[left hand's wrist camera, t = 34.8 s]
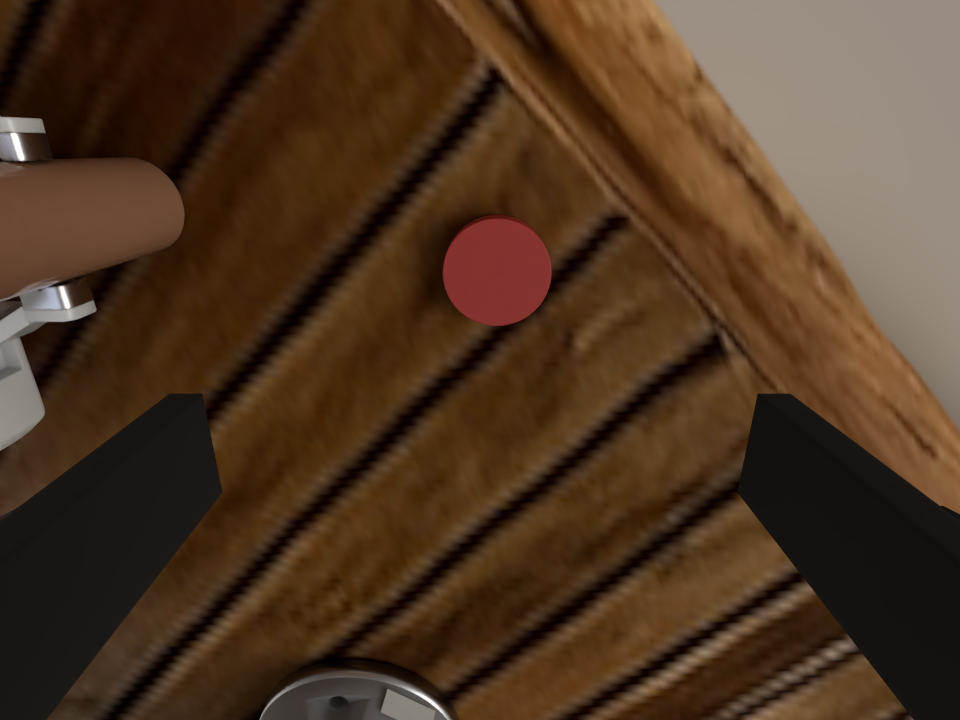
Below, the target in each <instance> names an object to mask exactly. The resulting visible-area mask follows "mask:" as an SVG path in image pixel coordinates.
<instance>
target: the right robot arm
mask: <svg viewBox="0 0 960 720" xmlns="http://www.w3.org/2000/svg"><path fill="white" fill-rule="evenodd" d="M37 160H53V156H52V152H51V149H50V145H49V141H48V138H47V134H46V132H45V128H44V125H43V121H42V119H36V118H17V117H1V116H0V161H37ZM20 299H21V301H7V300H5V301H2V302H0V451H1V450H2V449H4V448H6V447H7V446H9V445H11V444H12V443H14V442H16V441H17V440H19V439H20V438H21V437H23V436H24V435H25V434H27V433H28V432H29V431H30V430H31V429H33V428H34V427H35V426H36V425H37V424H38V423H39V421H40V420H41V419H42V418H43V417H44V414H45V409H44V405H43V402H42V399H41V396H40V393H39V391H38V388H37V385H36V382H35V379H34V376H33V374H32V371H31V368H30V365H29V362H28V359H27V357H26V354H25V351H24V348H23V345H22V342H21V339H20V337H21V336H23V335H26V334H28V333H31V332H33V331H35V330H36V329H38V328H39V327H41V326H42V325H44V324H45V323H46V322H66V321H72V320H76V319H80V318H82V317H84V316H87V315H89V314H91V313H94V312H96V306H95V303H94V299H93V296H92V293H91V290H90V287H89V284H88V281H87V277H83V276H80V277H77V278H74V279H70V280H67V281H64V282H61V283H58V284H55V285H52V286H49V287H45V288H42V289H39V290H36V291H33V292H30V293H27V294H24V295H20Z"/></svg>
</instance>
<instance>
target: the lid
mask: <svg viewBox="0 0 960 720" xmlns="http://www.w3.org/2000/svg"><path fill="white" fill-rule="evenodd" d="M550 281H551V262H550V258H549V254H548V252H547V250H546V247H545V245H544V243H543V242H542V240H541V238H540V237H539V235H538V234H537V233H536V232H535V231H534V230H533V229H532V228H531V227H530V226H529V225H528V224H526V223H525V222H523V221H521V220H519V219H517V218H514V217H511V216H507V215H488V216H483V217H480V218H477V219H475V220H473V221H471V222H469V223H468V224H467V225H465V226H464V227H463V228H462V229H461V230H460V231H459V232H458V233H457V234H456V235H455V237H454V238H453V240H452V241H451V243H450V246H449V248H448V250H447V253H446V256H445V259H444V264H443V282H444V286H445V289H446V292H447V295H448V296H449V298H450V300H451V302H452V303H453V304H454V306H455V307H456V308H457V309H458V310H459V311H460V312H461V313H462V314H464V315H465V316H466V317H468V318H470V319H471V320H473V321H476V322H478V323H481V324H485V325H493V326H501V325H508V324H512V323H515V322H518V321H520V320H522V319H524V318H525V317H527V316H529V315H530V314H531V313H532V312H534V311H535V310H536V309H537V307H538V306H539V305H540V304H541V302H542V301H543V300H544V298H545V296H546V294H547V291H548V289H549V285H550Z"/></svg>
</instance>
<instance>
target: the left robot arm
mask: <svg viewBox="0 0 960 720" xmlns="http://www.w3.org/2000/svg"><path fill="white" fill-rule="evenodd" d="M221 494H222V488H221V483H220V478H219V473H218V468H217V464H216V459H215V454H214V449H213V444H212V439H211V434H210V429H209V425H208V420H207V415H206V410H205V405H204V400H203V395H202V394H169V395H167V396H166V397H165V398H163V399H162V400H161V401H159V402H158V403H157V404H155V405H154V406H153V407H151V408H150V409H149V410H147V411H146V412H145V413H143V414H142V415H141V416H139V417H138V418H137V419H135V420H134V421H133V422H131V423H130V424H129V425H127V426H126V427H125V428H123V429H122V430H121V431H119V432H118V433H117V434H115V435H114V436H113V437H111V438H110V439H109V440H107V441H106V442H105V443H103V444H102V445H101V446H99V447H98V448H97V449H95V450H94V451H93V452H92V453H90V454H89V455H88V456H86V457H85V458H84V459H82V460H81V461H80V462H78V463H77V464H76V465H74V466H73V467H72V468H70V469H69V470H68V471H66V472H65V473H64V474H62V475H61V476H60V477H58V478H57V479H56V480H54V481H53V482H52V483H50V484H49V485H48V486H46V487H45V488H44V489H42V490H41V491H40V492H38V493H37V494H36V495H34V496H33V497H32V498H30V499H29V500H28V501H26V502H25V503H24V504H22V505H21V506H20V507H18V508H16V509H14V510H12V511H11V512H9V513H7V514H5V515H3V516H1V517H0V720H46V719H47V718H48V716H49V715H50V714H51V713H52V711H53V710H54V709H55V707H56V706H57V705H58V704H59V702H60V701H61V700H62V698H63V697H64V696H65V695H66V693H67V692H68V691H69V689H70V688H71V687H72V686H73V684H74V683H75V682H76V680H77V679H78V678H79V677H80V675H81V674H82V673H83V671H84V670H85V669H86V668H87V666H88V665H89V664H90V662H91V661H92V660H93V659H94V657H95V656H96V655H97V653H98V652H99V651H100V650H101V648H102V647H103V646H104V644H105V643H106V642H107V640H108V639H109V638H110V637H111V635H112V634H113V633H114V631H115V630H116V629H117V628H118V626H119V625H120V624H121V622H122V621H123V620H124V619H125V617H126V616H127V615H128V613H129V612H130V611H131V610H132V608H133V607H134V606H135V604H136V603H137V602H138V601H139V599H140V598H141V597H142V595H143V594H144V593H145V592H146V590H147V589H148V588H149V586H150V585H151V584H152V583H153V581H154V580H155V579H156V577H157V576H158V575H159V574H160V572H161V571H162V570H163V568H164V567H165V566H166V565H167V563H168V562H169V561H170V559H171V558H172V557H173V555H174V554H175V553H176V552H177V550H178V549H179V548H180V546H181V545H182V544H183V543H184V541H185V540H186V539H187V537H188V536H189V535H190V534H191V532H192V531H193V530H194V528H195V527H196V526H197V525H198V523H199V522H200V521H201V519H202V518H203V517H204V516H205V514H206V513H207V512H208V510H209V509H210V508H211V507H212V505H213V504H214V503H215V501H216V500H217V499H218V498H219V496H220V495H221ZM738 494H739V495H740V496H741V498H742V499H743V500H744V501H745V503H746V504H747V505H748V507H749V508H750V509H751V510H752V512H753V513H754V514H755V516H756V517H757V518H758V519H759V521H760V522H761V523H762V525H763V526H764V527H765V528H766V530H767V531H768V532H769V534H770V535H771V536H772V537H773V539H774V540H775V541H776V543H777V544H778V545H779V546H780V548H781V549H782V550H783V552H784V553H785V554H786V555H787V557H788V558H789V559H790V561H791V562H792V563H793V565H794V566H795V567H796V568H797V570H798V571H799V572H800V574H801V575H802V576H803V577H804V579H805V580H806V581H807V583H808V584H809V585H810V586H811V588H812V589H813V590H814V592H815V593H816V594H817V595H818V597H819V598H820V599H821V601H822V602H823V603H824V604H825V606H826V607H827V608H828V610H829V611H830V612H831V613H832V615H833V616H834V617H835V619H836V620H837V621H838V622H839V624H840V625H841V626H842V628H843V629H844V630H845V631H846V633H847V634H848V635H849V637H850V638H851V639H852V640H853V642H854V643H855V644H856V646H857V647H858V648H859V650H860V651H861V652H862V653H863V655H864V656H865V657H866V659H867V660H868V661H869V662H870V664H871V665H872V666H873V668H874V669H875V670H876V671H877V673H878V674H879V675H880V677H881V678H882V679H883V680H884V682H885V683H886V684H887V686H888V687H889V688H890V689H891V691H892V692H893V693H894V695H895V696H896V697H897V698H898V700H899V701H900V702H901V704H902V705H903V706H904V707H905V709H906V710H907V711H908V713H909V714H910V715H911V716H912V718H913V719H914V720H960V514H958V513H956V512H954V511H952V510H950V509H948V508H946V507H944V506H939V505H938V504H936V503H935V502H934V501H932V500H931V499H930V498H928V497H927V496H926V495H924V494H923V493H922V492H920V491H919V490H918V489H916V488H915V487H914V486H912V485H911V484H910V483H908V482H907V481H906V480H904V479H903V478H902V477H900V476H899V475H898V474H896V473H895V472H894V471H892V470H891V469H890V468H888V467H887V466H886V465H884V464H883V463H882V462H880V461H879V460H878V459H876V458H875V457H874V456H872V455H871V454H870V453H868V452H867V451H866V450H864V449H863V448H862V447H861V446H859V445H858V444H857V443H855V442H854V441H853V440H851V439H850V438H849V437H847V436H846V435H845V434H843V433H842V432H841V431H839V430H838V429H837V428H835V427H834V426H833V425H831V424H830V423H829V422H827V421H826V420H825V419H823V418H822V417H821V416H819V415H818V414H817V413H815V412H814V411H813V410H811V409H810V408H809V407H807V406H806V405H805V404H803V403H802V402H801V401H799V400H798V399H797V398H795V397H794V396H793V395H791V394H758V395H757V400H756V405H755V410H754V415H753V420H752V425H751V429H750V434H749V439H748V444H747V449H746V454H745V459H744V463H743V468H742V473H741V478H740V483H739V488H738ZM260 720H459V719H458V717H457V714H456V712H455V710H454V708H453V706H452V705H451V703H450V702H449V701H448V699H447V698H446V697H445V696H444V695H443V694H442V693H441V692H440V691H439V690H438V689H437V688H436V687H434V686H433V685H432V684H430V683H429V682H427V681H426V680H424V679H423V678H421V677H419V676H417V675H415V674H413V673H411V672H409V671H406V670H404V669H401V668H398V667H395V666H392V665H388V664H384V663H379V662H373V661H365V660H337V661H329V662H324V663H319V664H315V665H312V666H309V667H306V668H304V669H301V670H299V671H297V672H295V673H293V674H291V675H290V676H289V677H287V678H286V679H284V680H283V681H282V682H281V683H280V684H279V685H278V686H277V687H276V688H275V689H274V690H273V692H272V693H271V694H270V696H269V698H268V700H267V702H266V705H265V707H264V710H263V712H262V715H261V717H260Z"/></svg>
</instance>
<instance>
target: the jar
mask: <svg viewBox="0 0 960 720" xmlns="http://www.w3.org/2000/svg"><path fill="white" fill-rule="evenodd" d="M184 218H185V216H184V206H183V202H182V199H181V196H180V194H179V192H178V190H177V188H176V187H175V185H174V184H173V182H172V181H171V180H170V179H169V177H168V176H167V175H166V174H165V173H164V172H162V171H161V170H160V169H159V168H157V167H156V166H154V165H153V164H151V163H149V162H147V161H144V160H141V159H138V158H133V157H105V158H74V159H53V160H37V161H0V302H2V301H5V300H8V299H11V298H14V297H17V296H20V295H24V294H27V293H30V292H33V291H36V290H39V289H42V288H45V287H49V286H52V285H55V284H58V283H61V282H64V281H67V280H70V279H74V278H77V277H80V276H83V275H86V274H89V273H92V272H95V271H99V270H102V269H105V268H108V267H111V266H114V265H117V264H120V263H124V262H127V261H130V260H133V259H136V258H139V257H142V256H145V255H149V254H152V253H155V252H158V251H161V250H164V249H166V248H168V247H169V246H171V245H172V244H173V243H174V242H175V241H176V240H177V239H178V237H179V236H180V234H181V231H182V229H183V225H184Z"/></svg>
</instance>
